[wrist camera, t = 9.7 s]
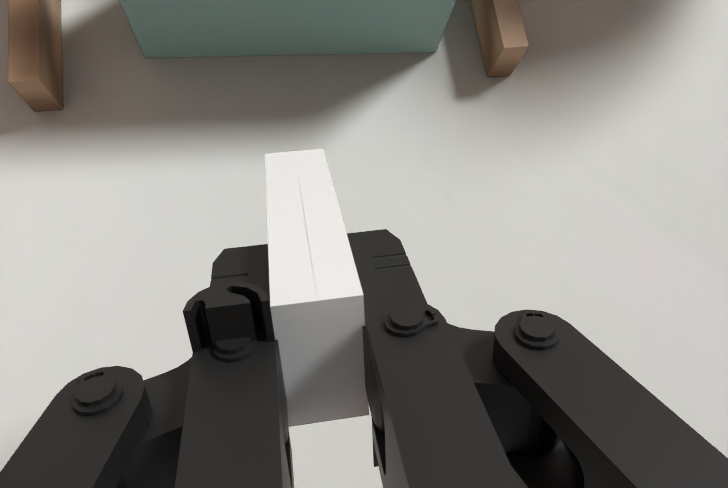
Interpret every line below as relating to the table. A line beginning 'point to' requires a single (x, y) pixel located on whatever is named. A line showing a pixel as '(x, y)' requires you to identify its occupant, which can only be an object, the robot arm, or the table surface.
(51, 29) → the walnut bay
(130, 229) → the table surface
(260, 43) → the muted teal t-block
